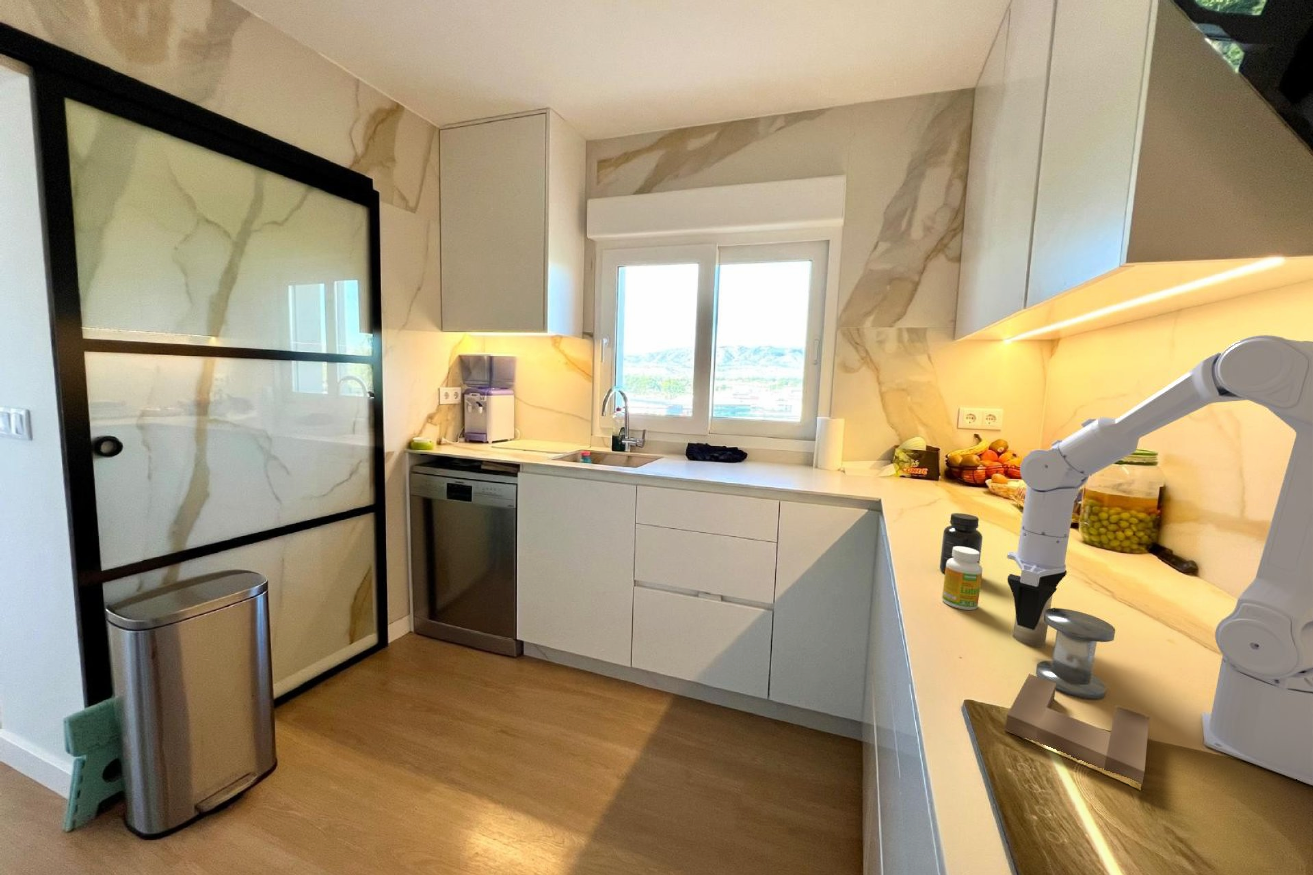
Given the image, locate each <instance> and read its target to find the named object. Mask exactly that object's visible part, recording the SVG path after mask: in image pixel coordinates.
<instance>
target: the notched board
mask: <svg viewBox="0 0 1313 875" xmlns="http://www.w3.org/2000/svg"><path fill="white" fill-rule="evenodd" d="M1027 675H1028V676H1027V677H1026V679H1025V681H1024V683H1023V684H1022V686H1021V688H1020V690H1019V691H1018V694H1017V696H1016V697H1015V699H1014V701H1013V703H1012V704H1011V707H1010V709H1009V711H1008V712H1007V715H1006V721H1005V727H1004V730H1005V729H1006V730H1008V731H1010V732H1012V733H1013V734H1016V735H1017V736H1020V737H1022V738H1027V739H1029V740H1033V741H1035V742H1039V743H1040V744H1043V745H1046V746H1048V747H1051V748H1053V749H1056V750H1057V751H1061V752H1063V753H1066V754H1067V755H1071V757H1073V758H1076V759H1077V760H1082V761H1084V762H1086V763H1088V764H1092V765H1094V766H1097V767H1098V768H1102V769H1103V768H1104V770H1106V771H1110V772H1112V773H1116V774H1119V775H1121V776H1124V777H1127V778H1130V779H1132V780H1134V781H1136V782H1138V783H1139V784H1141V785H1142V786H1143V782H1144V776H1145V769H1146V760H1147V759H1146V758H1147V749H1148V748H1147V747H1148V735H1149V727H1150V726H1149V725H1150V724H1149V722H1150V716H1146V715H1145V714H1141V713H1139V712H1136V711H1134V710H1130V709H1128V708H1125V707H1123V706H1119V705H1116V706H1115V709H1114V710H1115V711H1114V716H1113V720H1112V725H1111V729H1110V731H1107V730H1105V729H1103V728H1099V727H1097V726H1094V725H1092V724H1090V723H1087V722H1084V721H1081V720H1079V719H1078V718H1077V719H1076V718H1074V717H1072V716H1069V715H1066V714H1064V713H1061V712H1059V711H1056V710H1054V709H1052V705H1053V703H1054V700H1055V697H1056V696H1055V695H1056V691H1057V690H1056V683H1054V682H1051V681H1048V680H1045V679H1042V678H1040V677H1037V675H1034V674H1031V673H1028V674H1027ZM1017 736H1016V737H1017Z"/></svg>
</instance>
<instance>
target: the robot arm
mask: <svg viewBox="0 0 1313 875" xmlns="http://www.w3.org/2000/svg"><path fill="white" fill-rule="evenodd" d="M1239 401H1241V402H1242V401H1250V402H1253V403H1254V404H1257V405H1259V406H1262V407H1264V408H1266V409H1268V410H1269V411H1270V412H1271V413H1272V414H1273V415H1274V416H1276V417H1278V418H1279V419H1280V421H1282V422H1284V423H1285V424H1286V425H1287V426H1289V428H1291V429H1292V430H1293V431H1294V432H1295V439H1294V441H1293V446H1292V449H1291V453H1290V456H1289V459H1288V462H1287V467H1286V470H1285V474H1284V477H1283V481H1282V483H1281V487H1280V489H1279V490H1280V491H1279V495H1278V498H1277V500H1276V505H1275V508H1274V513H1273V514H1272V519H1271V522H1270V526H1269V529H1268V533H1267V536H1266V540H1265V543H1264V546H1263V550H1262V554H1261V558H1260V561H1259V564H1258V567H1257V572H1256V573H1255V577H1254V579H1253V580H1252V582H1251V583H1250V584H1249V585H1248V586H1247V587H1246V589H1244V591H1243V592H1242V593H1241V594H1240V596H1239V597H1238V598H1237V601H1236V604H1235V608H1234V610H1232V612H1231V613H1230V614H1229V615H1227V616H1226V617H1225V618H1223V619H1221V620H1220V621H1219V622H1218V624H1217V626H1216V628H1215V632H1214V638H1215V643H1216V645H1217V647H1218V649H1219V651H1220V654H1222V658H1221V662H1220V667H1219V673H1218V678H1217V683H1216V687H1215V691H1214V692H1215V693H1214V698H1213V702H1212V709H1211V713H1210V712H1206V711H1205V712H1202V714H1201V719H1202V723H1201V724H1202V733H1203V743H1204V745H1205V746H1206V747H1208V748H1209V749H1210V748H1211V749H1213V750H1216V751H1219V752H1221V753H1225V754H1226V755H1229V756H1232V757H1235V758H1237V759H1240V760H1243V761H1246V762H1249V763H1251V764H1254V765H1256V766H1258V767H1262V768H1263V769H1266V770H1270V771H1272V772H1275V773H1278V774H1281V775H1282V776H1283V775H1284V776H1286V777H1288V778H1290V779H1294V780H1296V779H1297V781H1299V782H1302V783H1305V784H1307V785H1310V786H1313V341H1310V340H1304V341H1303V340H1302V341H1301V340H1294V339H1287V338H1284V337H1282V336H1277V335H1268V334H1266V335H1263V334H1262V335H1261V334H1259V335H1254V336H1248V337H1246V338H1243V339H1239V340H1237V341H1235V342H1234V343H1232V344H1230V345H1229V346H1228V347H1227V348H1225V349H1224V350H1223V351H1222V352H1216V353H1214V354H1212V355H1210V356H1208V357H1206V358H1204V359H1203V360H1201V361H1200V362H1199V363H1198V364H1197V365H1195V367H1193V368H1192V369H1190V370H1189V371H1188V372H1186V373H1185V374H1183V375H1181V377H1180V376H1179V378H1177V379H1176V380H1174V381H1172V382H1171V383H1169V384H1168V385H1167V386H1165V387H1163V388H1162V389H1160V390H1159V391H1157V392H1156V393H1154V394H1153V395H1151V396H1149V397H1148V398H1147V399H1144V401H1143V400H1142V402H1141V403H1139V404H1137V405H1136V406H1134V407H1132V408H1131V409H1130V410H1128V411H1127V412H1125V413H1123V414H1121V416H1119V417H1117V418H1114V417H1113V418H1112V417H1106V416H1105V417H1104V416H1102V417H1099V418H1097V419H1096V418H1088V419H1086V420H1085V421H1083V422H1082V423H1081V426H1082V428H1081V429H1079V430H1077V431H1075V432H1074V433H1072V434H1070V435H1069V436H1067V437H1066V438H1064V439H1057V440H1054V441H1053V442H1052V443H1051V447H1050V448H1049V449H1041V448H1040V449H1033V450H1031V451H1029V453H1028V454H1027V455H1026V456H1025V457H1024V458H1023V459H1022V461H1021V463H1020V466H1019V474H1020V477H1021V479H1022V481H1023V482H1024V484H1025V485H1026V490H1025V496H1024V503H1023V509H1022V517H1021V523H1020V524H1021V525H1020V532H1019V537H1018V538H1019V539H1018V543H1017V545H1018V546H1017V552H1014V551H1009V552H1007V555H1006V559H1008V560H1011V561H1012V560H1013V561H1014V562H1015V563H1016V565H1017V566H1018V568H1019V569H1020V570H1021V574H1020V575H1016V574H1012V573H1009V575H1008V576H1007V580H1006V581H1007V584H1008V586H1009V589H1010V590H1011V593H1012V597H1013V601H1014V610H1015V615H1016V620H1017V625H1019V626H1022V627H1025V628H1028V629H1032V630H1034V629H1035V628H1036V626H1037V624H1038V622H1039V620H1040V617H1041V614H1042V611H1043V608H1044V606H1045V604H1046V602H1047V600H1048V599H1049V598H1050V597H1051V596H1052V597H1053V595H1054V594H1055V592H1056V591H1057V590H1058V588H1057V587H1058V585H1059V584H1060V583H1061V581H1062V580H1063V579H1064V578H1065V577H1066V575H1067V573H1068V571H1067V569H1066V568H1067V565H1066V556H1067V552H1068V551H1067V550H1068V544H1069V539H1070V532H1071V524H1072V520H1073V513H1074V505H1075V500H1076V498H1077V493H1078V491H1079V489H1080V488H1082V487H1083V486H1084V485H1085V484H1086V483H1088V482H1087V481H1088V480H1089V478H1090V477H1091V476H1092V475H1094V474H1096V473H1098V472H1099V471H1102V470H1104V469H1105V468H1107V467H1110V466H1112V465H1113V464H1115V463H1118V462H1119V461H1121V460H1123V459H1125V458H1127V457H1128V456H1130V455H1132V454H1135V453H1136V452H1137V449H1138V447H1139V446H1138V444H1139V440H1140V438H1143V437H1145V436H1147V435H1149V434H1151V433H1153V432H1155V431H1157V430H1159V429H1161V428H1163V427H1165V426H1168V425H1169V424H1171V423H1174V422H1175V421H1178V420H1180V419H1182V418H1184V417H1186V416H1188V415H1190V414H1192V413H1195V412H1196V411H1198V410H1200V409H1202V408H1204V407H1207V406H1208V405H1210V404H1214V403H1215V404H1216V403H1226V402H1227V403H1229V402H1239Z"/></svg>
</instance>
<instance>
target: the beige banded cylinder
mask: <svg viewBox="0 0 1313 875" xmlns="http://www.w3.org/2000/svg"><path fill="white" fill-rule="evenodd" d="M1052 600H1053V595H1052V596H1051V597H1050V598H1049V599H1048V600H1047V602H1046V604H1045V606H1044V608H1043V611H1042V614H1041V617H1040V620H1039V622H1038V624H1037V626H1036V628H1035V629H1034V630H1032V629H1028V628H1025V627H1022V626H1019V625H1017V620H1016V614H1015V617H1014V624H1013V625H1014V626H1013V630H1012V637H1013V639H1014V640H1016V641H1017V642H1020V643H1022V644H1024V645H1027V646H1031V647H1035V648H1036V647H1038V648H1041V647H1042V648H1043V647H1045V646H1046V642H1047V634H1048V627H1049V625H1048V624H1046V623H1045V621H1044V614H1045V610H1047V609H1050V608H1052V607H1051V606H1052V602H1053V601H1052Z"/></svg>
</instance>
